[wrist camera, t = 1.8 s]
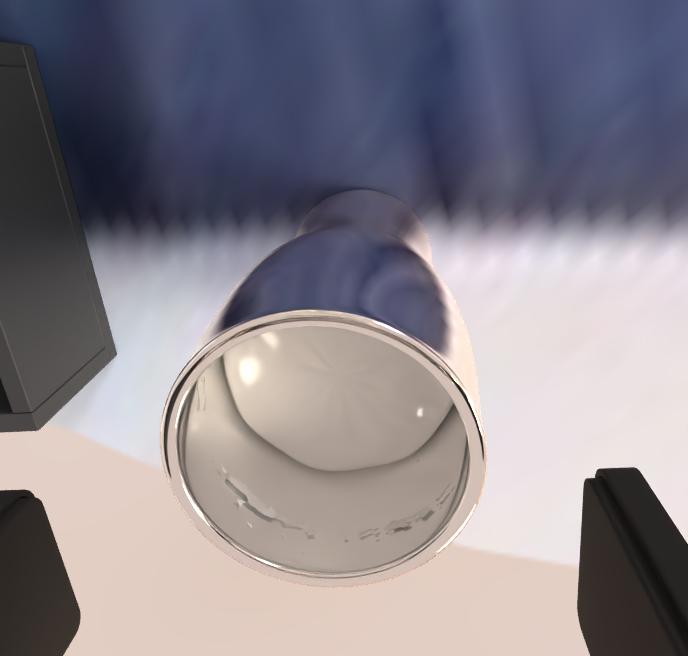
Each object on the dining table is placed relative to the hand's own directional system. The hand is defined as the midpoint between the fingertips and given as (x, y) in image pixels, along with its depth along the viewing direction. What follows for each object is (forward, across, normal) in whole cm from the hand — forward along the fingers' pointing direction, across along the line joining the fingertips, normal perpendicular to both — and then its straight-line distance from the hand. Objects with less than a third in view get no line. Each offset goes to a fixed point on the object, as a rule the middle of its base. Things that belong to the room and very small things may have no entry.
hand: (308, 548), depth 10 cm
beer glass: (+17, 0, -1) cm, 17 cm away
